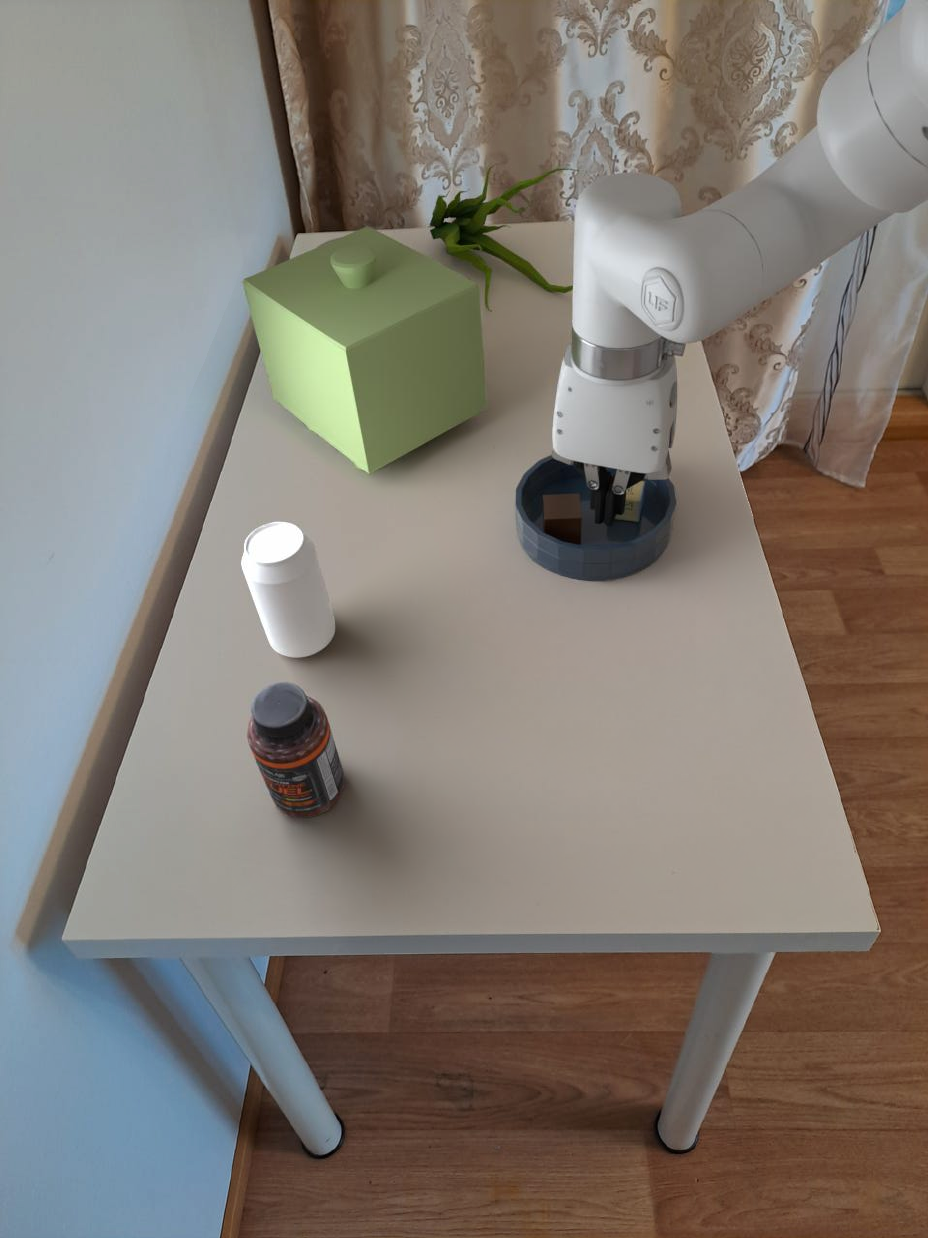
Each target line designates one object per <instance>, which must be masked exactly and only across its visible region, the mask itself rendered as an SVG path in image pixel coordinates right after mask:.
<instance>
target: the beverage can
mask: <svg viewBox="0 0 928 1238" xmlns="http://www.w3.org/2000/svg"><path fill="white" fill-rule="evenodd" d="M243 545H244V546H243V550H244V551H243V555H242V558H241V568H242V571H243V575H244V577H245V580H246V583H247V585H248V588H249V591H250V594H251V597H252V600H253V602H254V605H255V607H256V611H257V614H258V616H259V618H260V622H261V624H262V627H263V630H264V632H265V635H266V638H267V640H268V643H269V645H270V646H271V648H272V649H273V650H274V651H275V652H276V653H278V654H279V655H282V656H284V657H288V658H306V657H309V656H312V655H314V654H317V653H318V652H320V651H322V650H324V648H326V647H327V646H328V645H329V644H330V643H331V641H332V640H333V638H334V636H335V632H336V621H335V617H334V616H335V615H334V612H333V609H332V605H331V602H330V601H331V600H330V597H329V593H328V590H327V586H326V582H325V578H324V575H323V571H322V567H321V564H320V560H319V556H318V552H317V549H316V546H315V544H314V542H313V541H312V540H311V539H310V538H309V537H308V536H306V534H304V532H303V531H302V529H301V528H300V527H299V526H297V525H296V524H294V523H291V522H288V521H287V522H286V521H273V522H269V523H265V524H263V525H261V526H258V527H257V528H255V529H254V530H253V531H251V532H250V533H249V535H248V536H247V537H246V539H245V541H244V544H243Z"/></svg>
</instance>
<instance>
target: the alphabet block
mask: <svg viewBox="0 0 928 1238" xmlns="http://www.w3.org/2000/svg"><path fill="white" fill-rule="evenodd" d="M644 489H645V481H641V482H639V483H637V484H635V485H633V486H632V487H630V488H628V489H627V491H626V502H625V508H624V511H623V514H622V515H617V514H616V517H615V519H618V520H626V521H635V522H639V520H640V516H641V511H642V506H643V501H644Z"/></svg>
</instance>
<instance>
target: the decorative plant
mask: <svg viewBox="0 0 928 1238" xmlns="http://www.w3.org/2000/svg"><path fill="white" fill-rule="evenodd" d="M498 165H499V163H495V164H493V165H491V166H490V167H489V168H488V170H487V172H486V176H485V180H484V185H483V188H482V193H481V194H480V195H478V196H476V197H472V198H470V197H469V198H464V199H462V200H461V195H462V194H463V193H467V192H468V191H469V189H467V190H466V191H465V190H459V192H457V193H456V195H455V196H454V199H452V200H451V201H450V202H449V203H447V202H446V200H445V199H444V198H447V197H448V195H449V193H450V191H448V192H447V193H446V195H441V194H440V195H439V194H438V195H437V198H436V201H435V206H434V209H433V211H432V217H431V219H430V222H429V226H430V227H433V228H431V229H430V230H429V233H430V234H431V237H432V240H438V239H441V241H442V242H443V243H444V244H445V247H446V254H447V255H449V256H451V257H453V258H456V259H457V260H461V261H464V262H465V263H468V264H470V265H472V266H473V267H474V268H476V270H478V271H480V272H481V273H482V274H484V275H485V287H484V288H485V289H484V304H485V307H486V308H487V310H488V311H489V312H491V313H492V312H493V310H491V309H490V307H489V299H488V298H489V293H490V286H491V278H492V272H493V270H492V269H491V267H490V266H489V265H488V264H487V263H486V261H485V260H484V258H483V257H481V256H479V255H478V254H476V253H474V252H473V251H478V252H484V253H486V254H488V255H491V256H493V257H495V258H497V259H500V260H501V261H503V262H504V263H506V264H507V265H508V266H509V267H511V268H512V269H514V270H516V271H517V272H519V273H520V274H522V275H523V276H525V277H526V278H527V279H529V280H530V281H532V282H533V283H535V284H537V285H538V286H539V287H541V288H543V290H546V291H547V292H549V293H558V294H567V293H569V292H572V291H573V284H572V285H567V286H564V285H557V284H551V283H549V281H548V280H547V279H545V278H544V276H542V274H541V273H540V272H539V271H538V270H537V269H536V268H535V266H533V265H532V263H530V262H529V261H527V260H526V259H524V258H523V257H521V256H520V255H518V254H517V253H516V252H515V253H514V252H513V251H512V250H510V249H508V247H506V246H504V245H502V244H501V243H499V242H498V241H497V240H495V239H494V238H492V237H491V236H489V235H487V233H491V232H495V231H498V230H500V229H503V228H504V227H508V228H510V229H512V227H511V226H509V225H507V224H503V225H499V226H496V225H485V224H486V221H487V218H488V216H490V215H493V214H496V213H497V212H498V211H499V210H500V209H501V208H502V206H504V207H506V208H507V209H509V210H510V211H511V212H512V213H514V214H522V213H524V211H526V210H527V209H528V208H529V206H530V205H531V203H532V202H533V200H534V198H531V200H530V202H529V203H528V204H527V206H526V207H525V208H523V209H521V210H519V209H515V207H514V206H513V205H512V204H511V203H510V202H509V200H511V198H514V196H515V195H517V194H518V193H519V192H520V191H522V190H524V189H527V188H530V187H532V186H534V185H536V184H539V183H540V182H541V181H543V180H544V179H546V178H547V177H549V176H550V175H552V174H554V173H556V172H558V171H559V172H561V171H569V170H570V171H575V172H580V170H579V169H573V168H561V167H560V168H555V169H552V170H550V171H547V172H545V173H543V174H542V175H539V176H537V177H534V178H530V179H525V180H521V181H519V182H517V183H516V184H514V185H513V186H511V187H510V188H507V189H506V190H505V191H504V192H503V193H502V194H501V195H500V196H497V197H495V198H494V199H491V200H489V201H486V200H487V193H488V185H489V178H490V177H489V176H490V172H491V169H493V168H494V167H495V166H498ZM449 218H450V219H454V220H453V221H451V222H449V221H445V220H446V219H449ZM471 250H473V251H471Z"/></svg>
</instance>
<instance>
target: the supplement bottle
mask: <svg viewBox="0 0 928 1238" xmlns="http://www.w3.org/2000/svg"><path fill="white" fill-rule="evenodd" d="M250 711H251V717H250V719H249V721H248V723H247V729H246V730H247V731H246V737H247V741H248V746H249V749H250V750H251V753H252V755H253V757H254V760H255V763H256V765H257V768H258V769H259V772H260V774H261V777H262V780H263V781H264V784H265V786H266V788H267V791H268V793H269V796H270V797H271V799H272V802H273V803H274V805H275V806H276V807H277V808H278V810H280V811H281V812H282V813H284V814H286V815H288V816H291V817H294V818H310V817H315V816H318V815H320V814H323V813H325V812H326V811H328V810H329V809H330V808H332V807H333V806H334V805H335V804H336V803H337V801H338V800H339V799H340V797H341V796H342V793H343V791H344V787H345V774H344V770H343V765H342V762H341V759H340V757H339V756H340V755H339V752H338V748H337V746H336V741H335V739H334V736H333V732H332V729H331V725H330V722H329V719H328V716H327V713H326V712H325V709H324V708H323V707H322V705H321V704H320V703H319V702H318V701H317V700H316V699H314V698H313V697H311V696H308V695H307V694H306V693H305V691H304V689H302V688H301V686H299V685H297V684H295V683H293V682H288V681H285V682H284V681H283V682H282V681H281V682H275V683H272V684H270V685H267V686H266V687H264V688H262V689H261V690H260V691H259V692H258V693H257V694H256V695H255V697H254V698H253V700H252V702H251V707H250Z"/></svg>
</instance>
